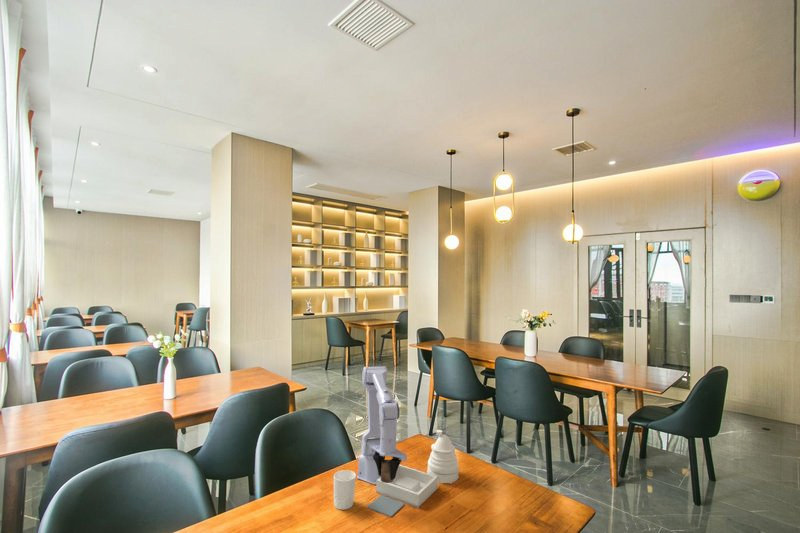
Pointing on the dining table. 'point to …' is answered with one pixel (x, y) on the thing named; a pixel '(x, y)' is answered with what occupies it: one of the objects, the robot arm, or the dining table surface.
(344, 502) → the white cup
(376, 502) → the slate pad
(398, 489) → the grey crate
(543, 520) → the dining table surface
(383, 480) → the walnut cylinder
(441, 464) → the honey pot
